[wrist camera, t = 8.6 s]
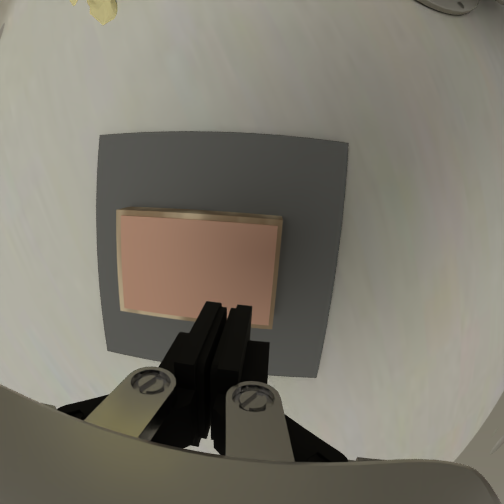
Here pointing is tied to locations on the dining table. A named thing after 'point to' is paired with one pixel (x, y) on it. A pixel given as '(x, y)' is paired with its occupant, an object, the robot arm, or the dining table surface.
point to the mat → (230, 200)
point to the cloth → (101, 9)
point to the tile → (197, 262)
